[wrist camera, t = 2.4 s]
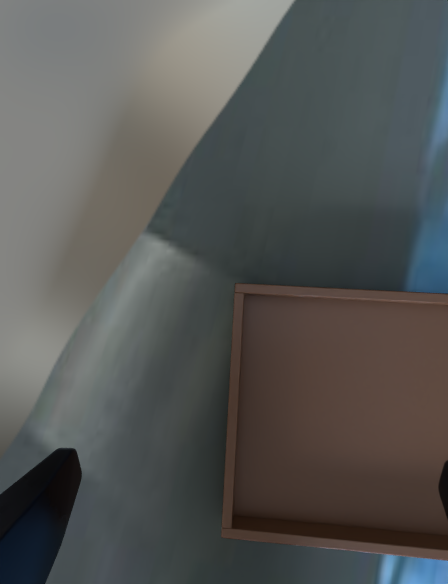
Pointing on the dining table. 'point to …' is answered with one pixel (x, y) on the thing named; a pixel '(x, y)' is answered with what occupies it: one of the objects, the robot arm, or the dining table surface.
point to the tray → (338, 419)
